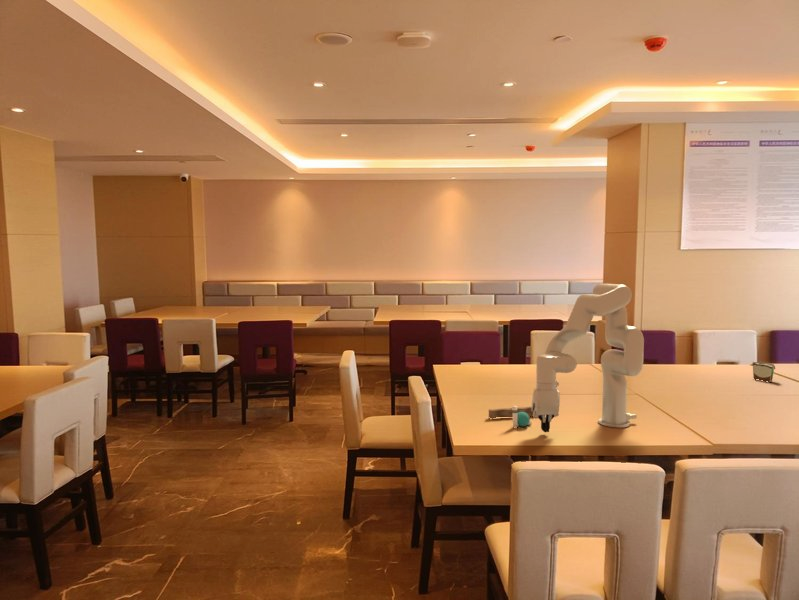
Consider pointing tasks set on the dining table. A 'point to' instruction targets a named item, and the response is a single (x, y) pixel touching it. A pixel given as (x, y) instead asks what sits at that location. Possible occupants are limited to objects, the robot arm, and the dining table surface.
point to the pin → (514, 416)
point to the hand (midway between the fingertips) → (545, 431)
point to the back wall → (509, 412)
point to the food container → (763, 371)
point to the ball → (522, 418)
